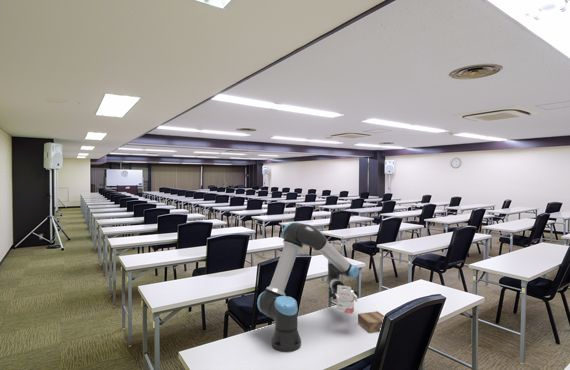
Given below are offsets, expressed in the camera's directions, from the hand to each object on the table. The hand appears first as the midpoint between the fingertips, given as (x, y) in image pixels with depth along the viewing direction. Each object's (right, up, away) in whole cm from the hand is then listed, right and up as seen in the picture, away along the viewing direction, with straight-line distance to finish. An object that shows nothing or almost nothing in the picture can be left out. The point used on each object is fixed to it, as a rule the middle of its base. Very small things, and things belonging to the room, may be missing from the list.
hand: (347, 299), depth 175 cm
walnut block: (+17, -20, +11) cm, 29 cm away
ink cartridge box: (0, -8, +5) cm, 9 cm away
